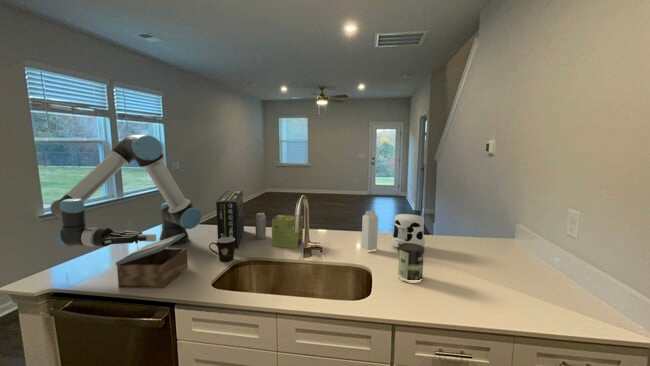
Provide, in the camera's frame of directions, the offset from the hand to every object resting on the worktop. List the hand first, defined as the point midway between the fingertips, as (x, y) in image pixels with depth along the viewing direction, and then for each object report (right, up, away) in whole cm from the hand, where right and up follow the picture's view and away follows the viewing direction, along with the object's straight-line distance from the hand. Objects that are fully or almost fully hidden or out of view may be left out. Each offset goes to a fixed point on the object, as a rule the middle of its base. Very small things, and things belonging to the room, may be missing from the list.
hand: (155, 237), depth 125 cm
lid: (-1, -5, +1) cm, 5 cm away
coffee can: (+107, -18, +4) cm, 109 cm away
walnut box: (-1, -17, +2) cm, 17 cm away
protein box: (+50, -12, +46) cm, 69 cm away
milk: (+95, -14, +38) cm, 103 cm away
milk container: (+117, -14, +41) cm, 125 cm away
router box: (+16, -11, +53) cm, 57 cm away
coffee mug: (+21, -15, +22) cm, 34 cm away
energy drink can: (+32, -11, +57) cm, 66 cm away
